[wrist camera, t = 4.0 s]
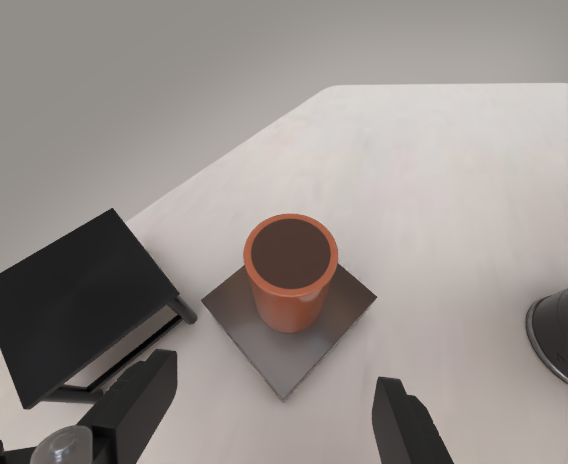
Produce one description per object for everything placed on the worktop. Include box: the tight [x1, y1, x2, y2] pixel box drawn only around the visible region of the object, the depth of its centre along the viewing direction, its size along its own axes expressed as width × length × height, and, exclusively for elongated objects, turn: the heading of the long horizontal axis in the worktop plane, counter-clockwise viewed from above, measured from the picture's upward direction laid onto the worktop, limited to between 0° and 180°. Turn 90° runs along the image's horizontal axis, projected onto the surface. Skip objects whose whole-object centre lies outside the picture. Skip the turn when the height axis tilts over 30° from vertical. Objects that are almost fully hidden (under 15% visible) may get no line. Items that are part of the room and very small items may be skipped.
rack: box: [0, 208, 197, 409], centre depth 27 cm, size 12×12×8 cm
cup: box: [243, 214, 338, 333], centre depth 22 cm, size 6×6×9 cm
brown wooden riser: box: [201, 264, 377, 403], centre depth 28 cm, size 12×11×5 cm
